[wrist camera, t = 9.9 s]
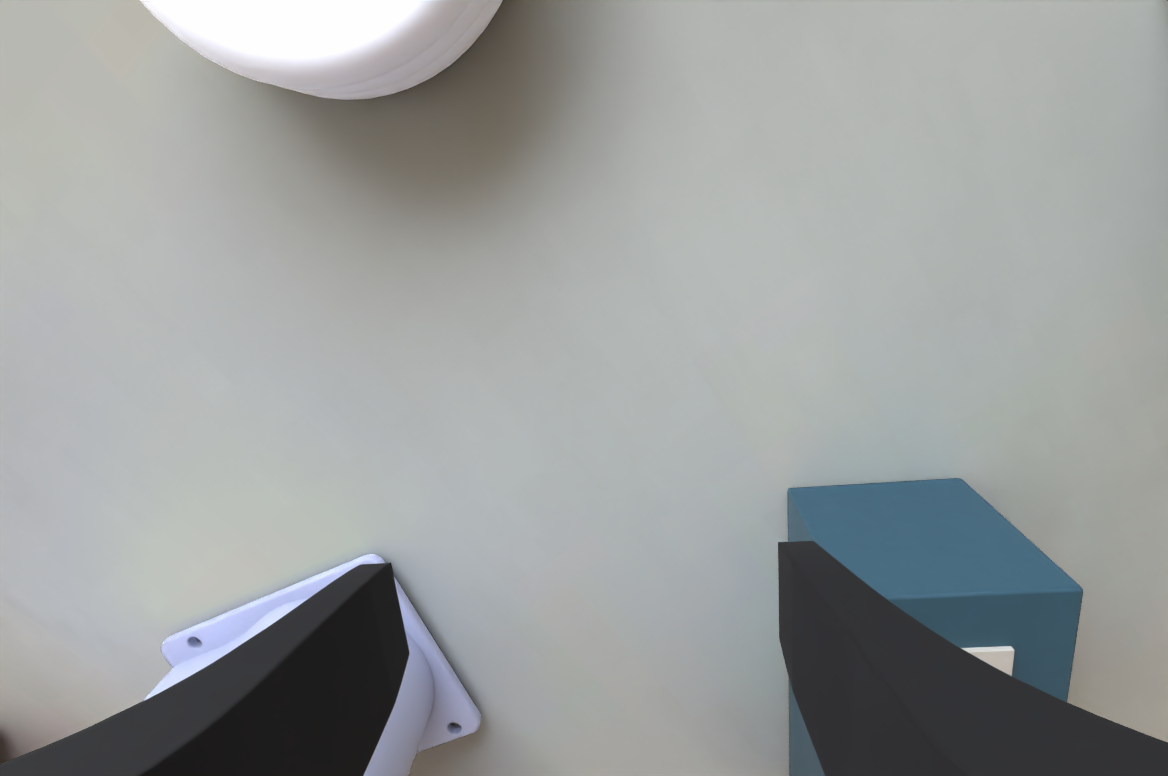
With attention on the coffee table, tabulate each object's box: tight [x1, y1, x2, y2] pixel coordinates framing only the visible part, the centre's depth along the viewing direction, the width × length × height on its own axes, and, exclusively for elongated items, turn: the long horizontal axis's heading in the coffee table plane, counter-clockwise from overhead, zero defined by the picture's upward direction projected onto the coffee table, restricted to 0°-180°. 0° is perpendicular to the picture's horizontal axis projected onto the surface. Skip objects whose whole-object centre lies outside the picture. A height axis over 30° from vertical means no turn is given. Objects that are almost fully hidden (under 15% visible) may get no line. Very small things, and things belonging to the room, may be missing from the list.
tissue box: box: [788, 478, 1083, 776], centre depth 20 cm, size 12×5×7 cm, turn 5°
